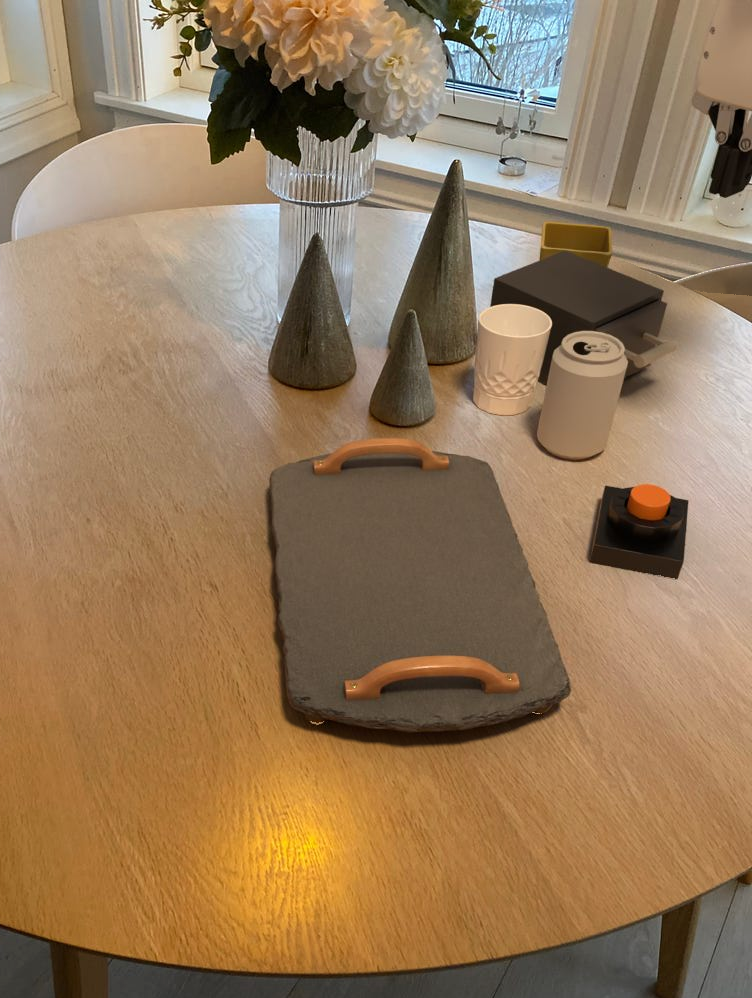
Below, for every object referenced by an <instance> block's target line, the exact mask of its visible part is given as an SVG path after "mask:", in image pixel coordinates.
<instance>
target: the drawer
mask: <svg viewBox="0 0 752 998" xmlns="http://www.w3.org/2000/svg"><path fill="white" fill-rule="evenodd" d="M667 307H668V302H665V301H663V300H658V301H656V302H653V303H651V304H649V305H647V306H645V307H643V306H642V307H639V308H637V309H635V310H633V311H631V312H628V313H626V314H624V315H622V316H620V317H618V318H615V319H613V320H611V321H609V322H607V323H604V324H602V325H600V326H598V327H596V329H595V331H596V332H602V333H605V334H609V335H611V336H613V337H615V338H617V339H618V340H620V341H621V342H622V343H623V345H624V347H625V350H624V355H625V356H626V358H627V361H628V364H627V368H626V372H625V376H624V379H626V378H627V377H629V376H631V375H634V374H635V373H637V372H639V371H641V370H643V369H646V368H647V367H649V366H651V364H653V363H654V362H656V361H658V360H660V359H662V358H664V357H666V356H668V355H670V354H672V353H674V352H676V351H677V350H678V343H677V341H676V340H675V339H668V340H664V339H662V338H660V337H659V336H660V335H659V334H660V332H661V328H662V324H663V321H664V318H665V315H666V310H667Z"/></svg>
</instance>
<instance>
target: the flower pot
mask: <svg viewBox="0 0 752 998" xmlns="http://www.w3.org/2000/svg"><path fill="white" fill-rule="evenodd" d="M612 233H613V230H612V227H610V226H602V225H593V224H585V223H583V224H582V223H571V222H556V221H543V222H542V228H541V240H540V249H539V260H538V261H540V260H542V259H545V258H547V257H550V256H552V255H555V254H557V253H560V252H562V251H568V252H570V253H573V254H575V255H577V256H580V257H582V258H585V259H587V260H590V261H592V262H595V263H597V264H600V265H602V266H605V267H607V268H609V264H610V261H611V258H612V256H613V234H612Z"/></svg>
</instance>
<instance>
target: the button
mask: <svg viewBox="0 0 752 998" xmlns="http://www.w3.org/2000/svg"><path fill="white" fill-rule="evenodd" d="M633 487H634V488H633V489H632V490H631V493H630V497H629V500H628V503H627V510H628V512H629V513H631V514H633V515H635V516H637V517H638V518H641V519H647V520H659V519H663V518H664V517H665V515H666V513H667V510H668V506H669V503H670V500H671V497H670V495H671V494H670V493H669V491H668V490H666V489H664V488H662V487H661V486H658V485H655V484H648V483H643V484H639V485H636V486H633Z"/></svg>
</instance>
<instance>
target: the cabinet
mask: <svg viewBox="0 0 752 998" xmlns="http://www.w3.org/2000/svg"><path fill="white" fill-rule="evenodd" d="M664 291H665V290H663V289H661V288H659V287H656V286H654V285H651V284H649V283H646V282H644V281H641V280H639V279H637V278H634V277H632V276H630V275H626V274H624V273H622V272H619V271H617V270H614V269H612V268H609V267H605V266H602V265H600V264H597V263H595V262H592V261H590V260H587V259H585V258H582V257H580V256H577V255H575V254H573V253H570V252H568V251H562V252H560V253H557V254H555V255H552V256H550V257H547V258H545V259H542V260H540V261H539V260H537V261H534V262H532V263H529V264H527V265H524V266H522V267H519V268H517V269H515V270H512V271H509V272H506V273H504V274H502V275H500V276H497V277H494V279H493V286H492V292H491V299H490V306H489V307H492V306H496V305H502V304H519V305H525V306H530V307H533V308H536V309H539V310H541V311H543V312H544V313H546V314H547V315H548V316H549V317H550V318H551V320H552V327H551V331H550V335H549V339H548V343H547V347H546V351H545V356H544V360H543V364H542V367H541V370H540V375H539V379H538V382H539V383H541V384H542V385H544V386H547V381H548V376H549V371H550V366H551V361H552V356H553V353H554V350H555V349H557V348H558V347H559V346H560V345H562V344H561V343H562V340H563V338H565V337H566V336H567V335H569V334H571V333H574V332H579V331H595V329H596V327H598V326H600V325H602V324H604V323H607V322H609V321H611V320H613V319H615V318H618V317H620V316H622V315H624V314H626V313H628V312H631V311H633V310H635V309H637V308H639V307H642V306H643V307H645V306H647V305H649V304H651V303H653V302H656V301H658V300H661V301H663V296H664Z"/></svg>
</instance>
